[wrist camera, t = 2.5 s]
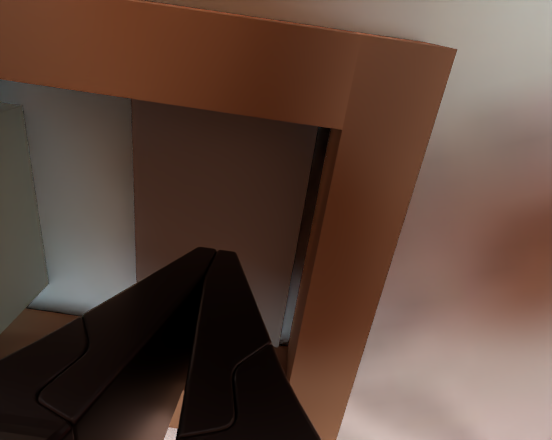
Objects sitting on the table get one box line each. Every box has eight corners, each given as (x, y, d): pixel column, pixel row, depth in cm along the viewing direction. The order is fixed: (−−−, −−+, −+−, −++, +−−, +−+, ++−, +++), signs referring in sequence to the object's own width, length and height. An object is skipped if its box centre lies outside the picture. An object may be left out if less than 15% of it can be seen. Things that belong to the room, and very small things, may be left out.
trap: (318, 118, 9) (319, 122, 9) (279, 337, 12) (278, 347, 11) (138, 91, 9) (130, 94, 9) (142, 317, 12) (137, 326, 11)
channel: (423, 41, 8) (457, 50, 6) (328, 389, 13) (332, 450, 11) (-348, -74, 8) (-533, -99, 6) (-167, 317, 13) (-244, 367, 11)
